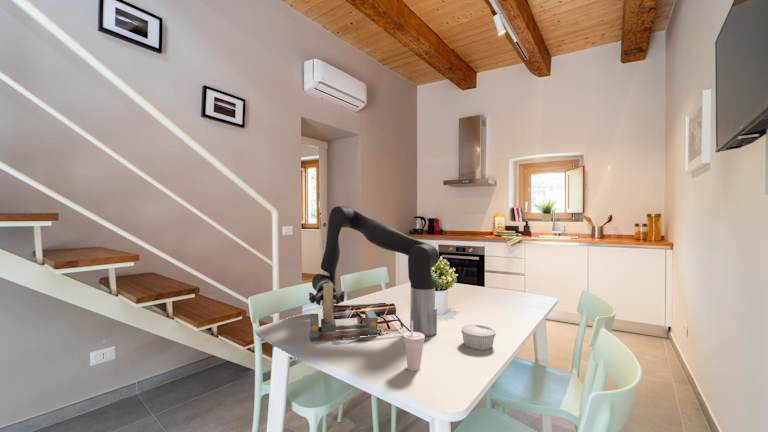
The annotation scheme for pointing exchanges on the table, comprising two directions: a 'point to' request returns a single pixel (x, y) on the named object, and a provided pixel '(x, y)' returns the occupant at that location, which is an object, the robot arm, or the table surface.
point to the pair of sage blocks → (369, 321)
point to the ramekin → (478, 337)
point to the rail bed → (344, 332)
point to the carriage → (328, 309)
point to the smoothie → (413, 348)
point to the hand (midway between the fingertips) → (328, 302)
